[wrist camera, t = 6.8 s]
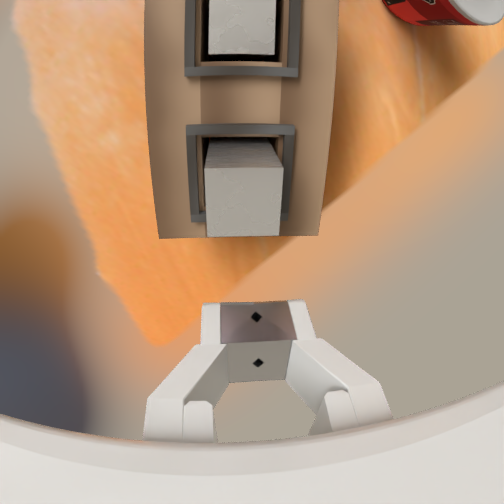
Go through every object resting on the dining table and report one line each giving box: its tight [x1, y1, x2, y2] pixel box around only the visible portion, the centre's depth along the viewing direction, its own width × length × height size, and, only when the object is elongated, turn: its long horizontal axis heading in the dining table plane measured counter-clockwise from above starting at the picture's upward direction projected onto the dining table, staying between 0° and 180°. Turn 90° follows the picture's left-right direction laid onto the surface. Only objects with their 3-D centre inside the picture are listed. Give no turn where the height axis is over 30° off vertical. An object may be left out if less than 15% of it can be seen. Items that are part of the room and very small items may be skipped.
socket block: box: [144, 0, 339, 239], centre depth 22 cm, size 12×20×11 cm, turn 179°
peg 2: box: [204, 137, 284, 237], centre depth 21 cm, size 4×4×9 cm
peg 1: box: [209, 0, 276, 58], centre depth 19 cm, size 4×4×9 cm
